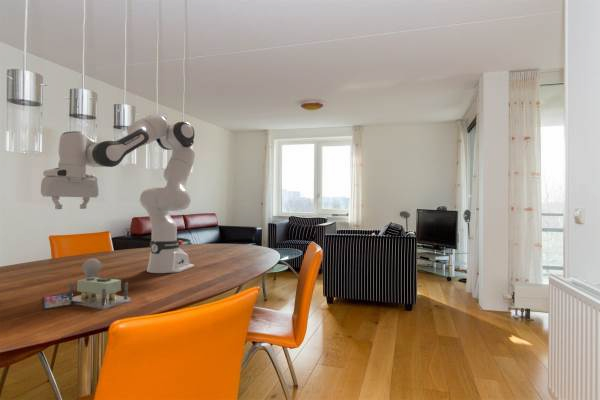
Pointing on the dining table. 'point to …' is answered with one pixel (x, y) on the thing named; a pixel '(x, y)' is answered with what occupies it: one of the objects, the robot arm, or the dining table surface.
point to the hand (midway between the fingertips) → (71, 209)
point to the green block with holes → (98, 285)
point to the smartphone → (56, 301)
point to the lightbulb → (91, 267)
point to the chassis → (98, 298)
